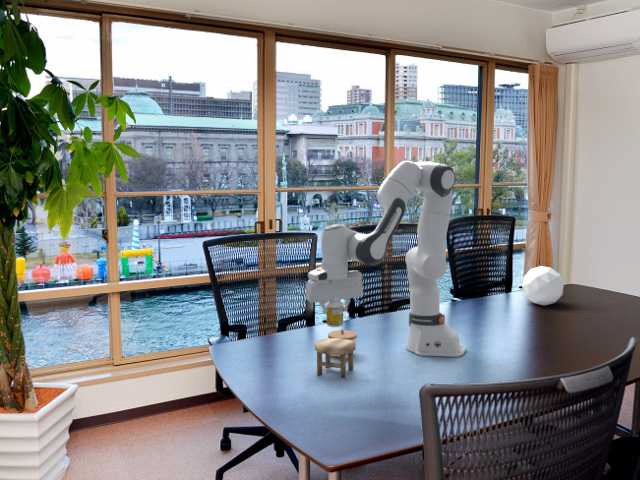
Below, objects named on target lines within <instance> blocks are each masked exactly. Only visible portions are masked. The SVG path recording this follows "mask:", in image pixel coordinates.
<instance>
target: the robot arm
mask: <svg viewBox="0 0 640 480" xmlns="http://www.w3.org/2000/svg"><path fill="white" fill-rule="evenodd" d="M455 183H456V173H455V170H454V168H452V166H450V165H448V164H445V163H440V162H439V163H438V162H434V161H418V160H413V161H410V160H403V161H401V162H400V163H398V164H397V165H396V166H395V167H394V168H393V169H392V170H390V172H389V173H388V175H387V176H386V177H385V179H384V180H383V181H382V183H381V185H380V186H379V188H378V190H377V192H376V200H377V202H378V204H379V206H381V208H382V209H383V210H384V211H383V215H382V216H381V219H380V221H379V222H378V223H377V226H376V227H375V229H374V230H373V231H372V232H370V233H367V234H366V233H362V232H358V231H356V230H353V229H350V228H349V227H348V226H346V225H345V224H344V223H332V224H329V225H326V227H324V228H323V230H322V234H321V243H320V245H321V249H320V252H321V255H322V259H321V265H320V266H319V267H318V268H315V269H313V270H310V271H309V272H308V274H307V277H308V278H309V279H308V280H307V282H306V285H305V286H306V287H305V299H306V300H307V302H309V303H319V305H320V307H321V308H322V314H323V315H327V314H328V313H329V312H328V311H329V309H328V308H327V306H326V305H327V303H326V302H329V301H330V300H334V298H335V297H340V299H341V300H344V303H343V313H344V312H348V306H349V305H350V302H351V299H353V298H354V299H355V298H361V297H362V296H363V295H364V289H363V282H362V280H363V274H362V272H361V271H359V270H357V269H356V270H349V269H348V267H349V263H348V262H349V260H352V261H354V262H359V263H361V264H364V265H367V266H371V267H373V266H376V265H377V266H378V264H380V263H382V261H383V260H384V258H385V257H386V254H387V251H388V247H389V246H390V245H389V244H390V242H391V240H392V238H393V236H394V234H395V233H396V231H397V230H398V227H399V226H400V224H401V221H402V220H403V218H404V215H405V213H406V210H407V203H408V202H409V200H410V199H411V197H412V196H413V194H414V193H415V192H416V191H419V192H423V193H424V198H423V201H422V205H421V208H420V209H421V210H420V214H419V218H418V223H417V229H416V231H417V233H416V234H417V246H413V247H412V248H410V249H409V250H407V252H406V254H405V259H404V260H405V263H406V270H407V279H408V284H409V293H410V294H409V295H410V296H409V297H410V298H409V300H410V303H409V305H410V310H409V313H408V327H409V330H408V331H409V332H408V335H407V336H408V337H407V341H406V345H405V349H406V350H407V351H408V352H409V351H410V352H412V353H414V354H415V355H417V356H423V357H424V356H425V357H426V356H427V357H455V358H457V357H458V358H459V357H461V356H463V355H464V354H465V353H466V350H467V348H466V346H465V345H464V344H463V343H460V342H461V341H460V336H459V334H458V332H457V331H456V330H454V329H453V328H452V327H451V326H449V325H448V324H447V323H446V321H445V320H446V317H445V316H446V315H445V313H444V314H443V313H442V312H440V305H441V304H440V303H441V302H440V301H441V299H440V296H441V293H440V289H439V287H438V286H439V285H438V280H440V279H442V278H443V277H444V276H445V274H446V272H447V270H448V264H447V260H446V259H447V258H446V257H447V254H446V253H447V236H448V235H447V233H448V229H449V224H450V218H451V213H452V207H453V188H454V186H455Z"/></svg>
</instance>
